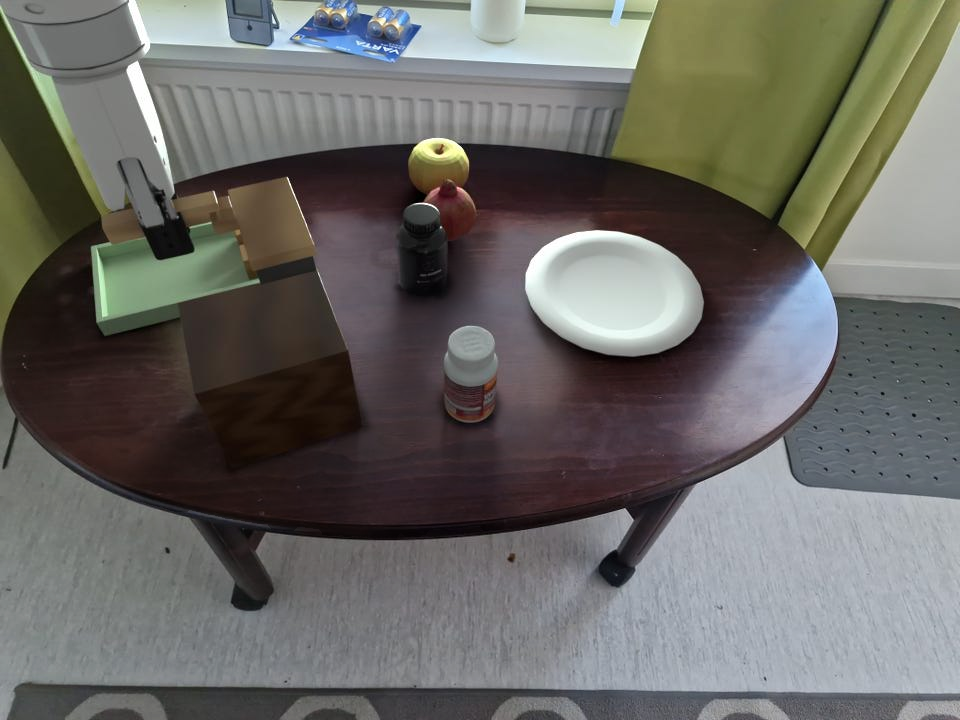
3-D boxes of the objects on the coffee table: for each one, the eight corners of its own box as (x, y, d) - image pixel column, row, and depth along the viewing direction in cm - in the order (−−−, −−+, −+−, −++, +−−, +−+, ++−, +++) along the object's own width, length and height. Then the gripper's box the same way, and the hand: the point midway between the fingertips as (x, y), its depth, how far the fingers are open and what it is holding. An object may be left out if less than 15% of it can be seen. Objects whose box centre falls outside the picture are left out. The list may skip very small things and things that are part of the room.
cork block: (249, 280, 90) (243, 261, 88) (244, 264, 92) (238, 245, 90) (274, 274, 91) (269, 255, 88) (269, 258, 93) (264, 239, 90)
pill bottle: (493, 426, 77) (498, 367, 68) (441, 422, 77) (440, 362, 68) (496, 385, 81) (501, 324, 72) (447, 381, 81) (446, 319, 72)
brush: (294, 203, 64) (279, 146, 59) (320, 271, 58) (307, 215, 53) (127, 242, 60) (97, 184, 55) (138, 319, 54) (105, 263, 49)
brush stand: (232, 468, 72) (194, 394, 61) (214, 382, 80) (177, 302, 69) (362, 426, 76) (348, 350, 65) (333, 348, 84) (316, 268, 73)
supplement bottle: (430, 306, 89) (428, 238, 80) (389, 287, 91) (383, 219, 82) (456, 277, 93) (457, 209, 84) (416, 259, 95) (413, 191, 86)
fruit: (424, 255, 96) (422, 200, 88) (420, 221, 101) (418, 165, 93) (478, 252, 96) (480, 197, 89) (471, 218, 102) (473, 163, 94)
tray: (104, 336, 84) (96, 322, 82) (98, 260, 93) (90, 246, 90) (287, 290, 90) (283, 276, 88) (264, 223, 99) (261, 209, 97)
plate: (514, 239, 99) (515, 230, 97) (674, 236, 101) (677, 227, 99) (535, 366, 83) (537, 358, 82) (724, 360, 85) (728, 352, 84)
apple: (480, 184, 107) (482, 141, 101) (446, 214, 102) (446, 170, 96) (432, 163, 111) (431, 120, 104) (397, 191, 105) (393, 148, 99)
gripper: (19, -12, 46) (121, 202, 60) (15, 97, 37) (136, 318, 51) (132, -24, 48) (205, 185, 62) (154, 76, 39) (234, 294, 53)
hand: (173, 244), depth 56 cm, fingers closed on brush
